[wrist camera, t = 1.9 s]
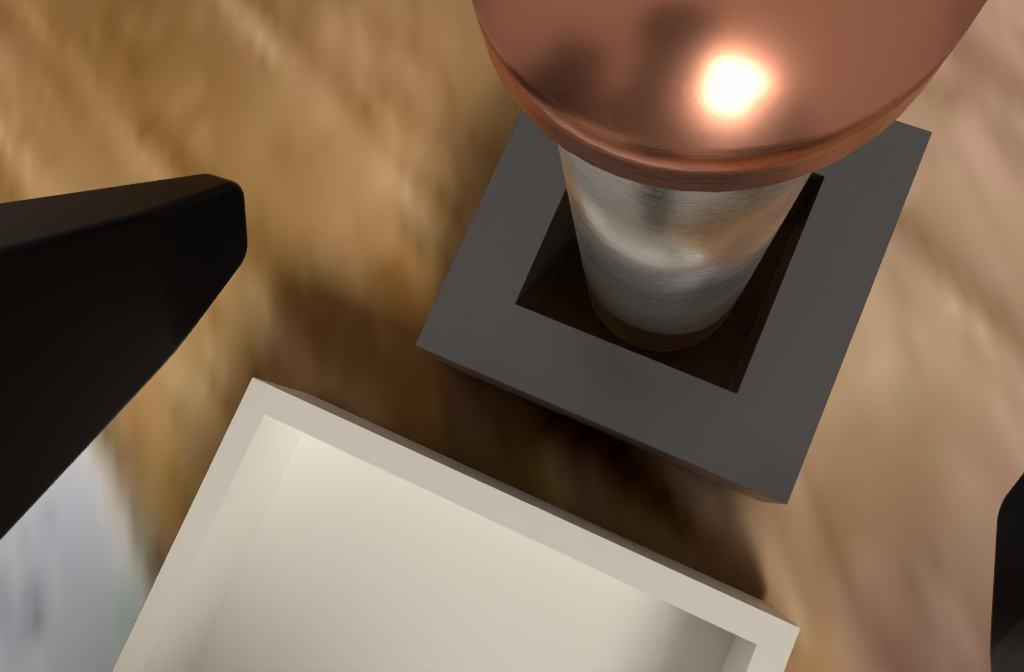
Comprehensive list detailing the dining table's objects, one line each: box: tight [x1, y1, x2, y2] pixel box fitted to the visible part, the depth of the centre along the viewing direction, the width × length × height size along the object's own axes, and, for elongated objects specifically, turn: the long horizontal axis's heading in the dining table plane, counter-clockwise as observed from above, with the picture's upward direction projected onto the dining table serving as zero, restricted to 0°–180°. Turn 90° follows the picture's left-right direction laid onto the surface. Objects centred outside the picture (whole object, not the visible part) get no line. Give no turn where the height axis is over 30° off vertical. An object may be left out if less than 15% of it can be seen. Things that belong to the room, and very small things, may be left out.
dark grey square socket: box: [415, 111, 932, 504], centre depth 18 cm, size 8×8×3 cm
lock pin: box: [472, 0, 987, 352], centre depth 13 cm, size 5×5×13 cm
